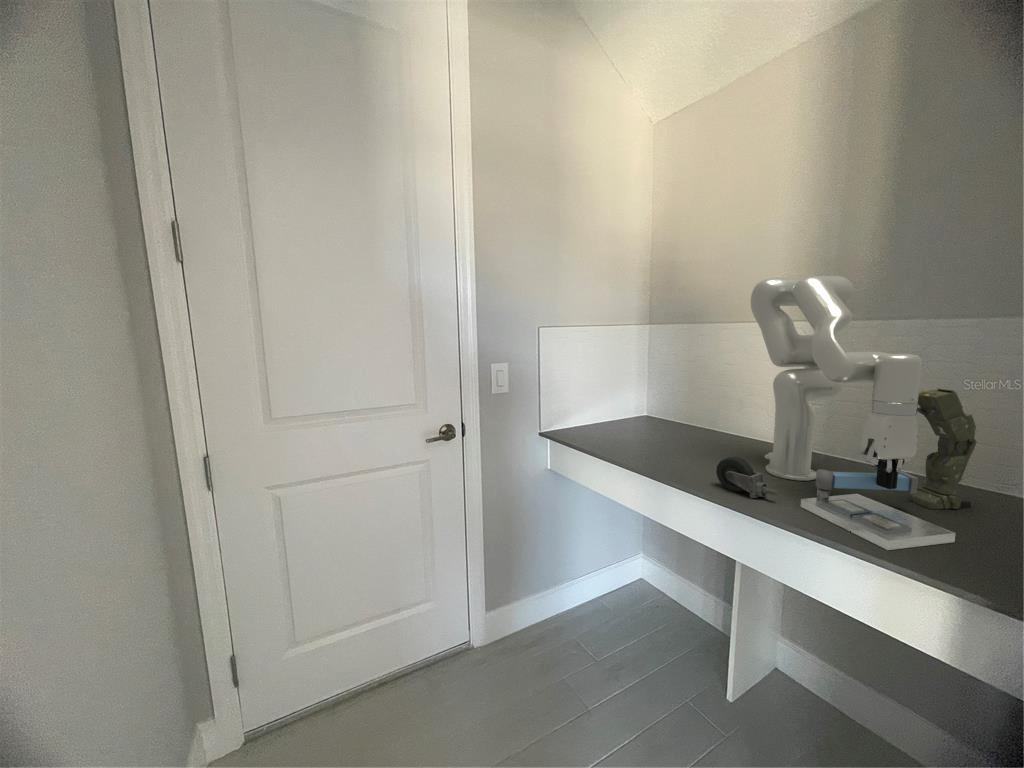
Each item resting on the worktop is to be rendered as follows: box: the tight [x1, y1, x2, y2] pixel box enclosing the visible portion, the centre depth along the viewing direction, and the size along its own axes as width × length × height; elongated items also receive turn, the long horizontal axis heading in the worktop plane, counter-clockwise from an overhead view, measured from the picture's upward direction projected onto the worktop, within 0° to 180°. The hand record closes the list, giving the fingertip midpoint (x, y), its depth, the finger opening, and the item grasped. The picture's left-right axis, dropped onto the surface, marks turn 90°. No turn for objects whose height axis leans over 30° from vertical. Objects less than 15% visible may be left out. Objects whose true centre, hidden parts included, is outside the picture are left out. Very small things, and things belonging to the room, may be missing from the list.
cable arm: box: [814, 468, 919, 493], centre depth 96 cm, size 20×4×4 cm, turn 81°
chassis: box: [800, 487, 957, 551], centre depth 90 cm, size 20×16×5 cm
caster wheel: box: [715, 456, 779, 499], centre depth 107 cm, size 6×10×15 cm
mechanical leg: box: [908, 387, 977, 510], centre depth 97 cm, size 14×7×30 cm, turn 92°
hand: (886, 486), depth 92 cm, fingers closed
